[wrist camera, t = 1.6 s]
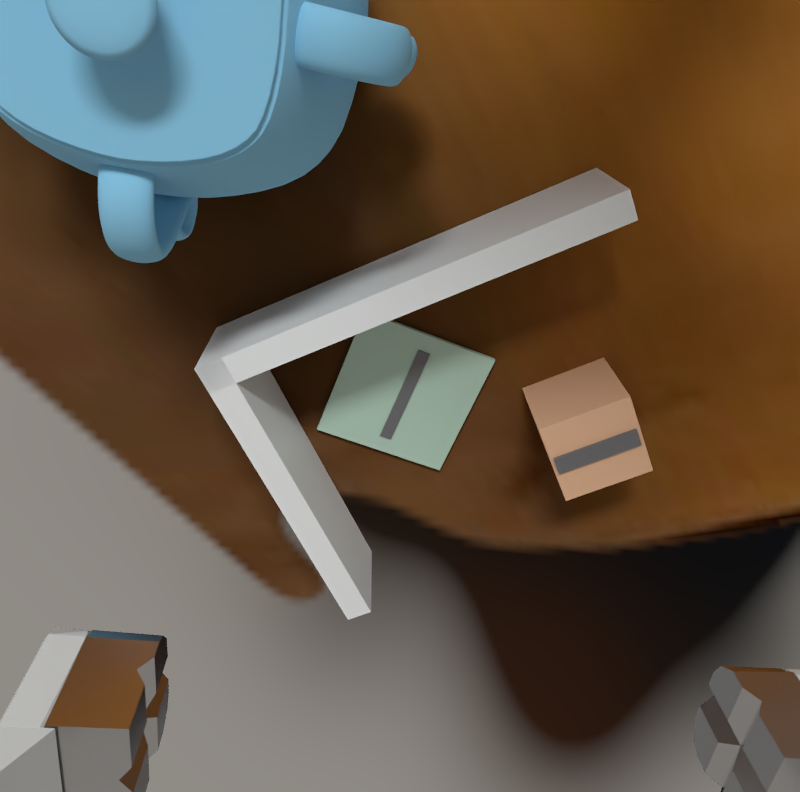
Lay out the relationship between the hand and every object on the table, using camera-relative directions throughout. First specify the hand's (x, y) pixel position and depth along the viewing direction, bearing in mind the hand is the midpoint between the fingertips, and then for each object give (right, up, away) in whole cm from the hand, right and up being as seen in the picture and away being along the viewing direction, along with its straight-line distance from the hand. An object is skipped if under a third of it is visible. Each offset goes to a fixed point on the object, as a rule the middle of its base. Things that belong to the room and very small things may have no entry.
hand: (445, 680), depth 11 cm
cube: (+10, +4, +33) cm, 34 cm away
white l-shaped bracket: (+3, +5, +32) cm, 32 cm away
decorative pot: (-10, +22, +23) cm, 33 cm away
